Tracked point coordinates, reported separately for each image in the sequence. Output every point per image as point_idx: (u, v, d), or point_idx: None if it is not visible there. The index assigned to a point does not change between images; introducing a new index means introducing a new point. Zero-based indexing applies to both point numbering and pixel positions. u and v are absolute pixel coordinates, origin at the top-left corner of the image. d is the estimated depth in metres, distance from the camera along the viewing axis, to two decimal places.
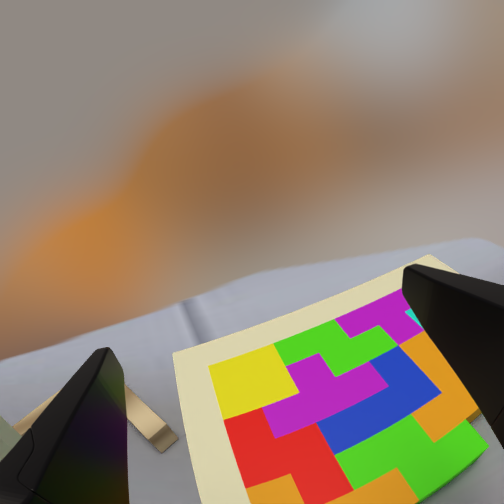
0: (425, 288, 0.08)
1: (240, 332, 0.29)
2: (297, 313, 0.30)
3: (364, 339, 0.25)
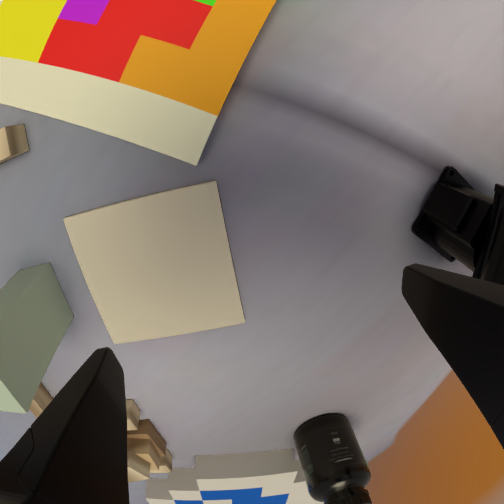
0: (425, 288, 0.08)
1: None
2: None
3: None
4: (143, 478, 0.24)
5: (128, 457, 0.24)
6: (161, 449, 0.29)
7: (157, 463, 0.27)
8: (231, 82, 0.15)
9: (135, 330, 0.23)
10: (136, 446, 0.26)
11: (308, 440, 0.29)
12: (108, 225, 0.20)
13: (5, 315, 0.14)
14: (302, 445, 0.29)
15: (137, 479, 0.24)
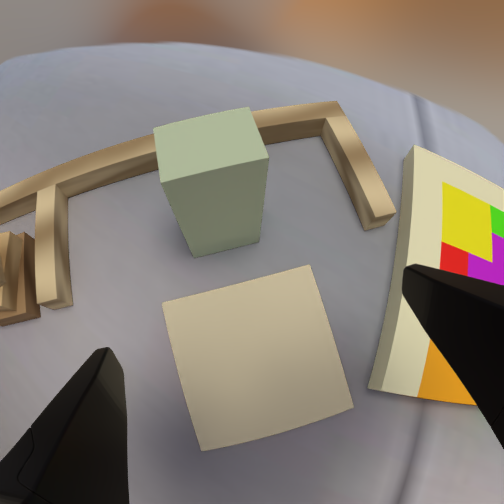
0: (425, 287, 0.08)
1: (471, 172, 0.24)
2: None
3: None
4: None
5: None
6: None
7: None
8: (439, 399, 0.18)
9: (183, 331, 0.21)
10: (9, 290, 0.19)
11: None
12: (307, 312, 0.22)
13: (264, 193, 0.17)
14: None
15: None
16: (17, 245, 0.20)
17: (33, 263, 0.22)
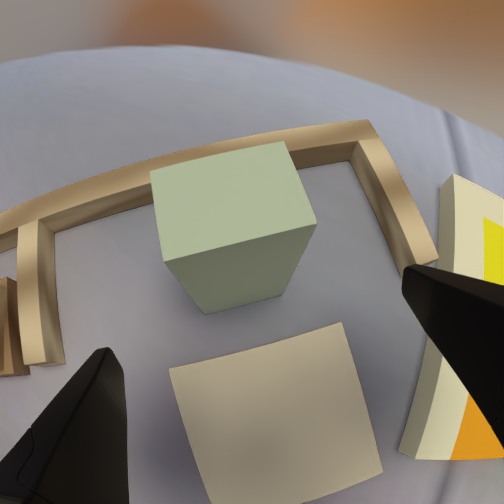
0: (425, 288, 0.08)
1: None
2: None
3: None
4: None
5: None
6: None
7: None
8: (470, 458, 0.13)
9: (194, 402, 0.17)
10: None
11: None
12: (337, 377, 0.18)
13: None
14: None
15: None
16: (0, 295, 0.16)
17: None
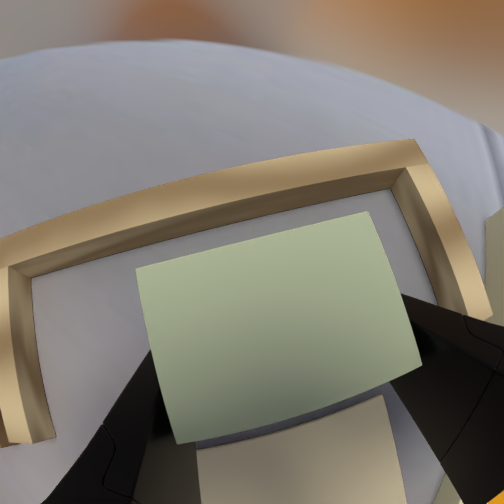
0: None
1: None
2: None
3: None
4: None
5: None
6: None
7: None
8: None
9: (211, 489, 0.12)
10: None
11: None
12: (375, 455, 0.13)
13: None
14: None
15: None
16: None
17: None
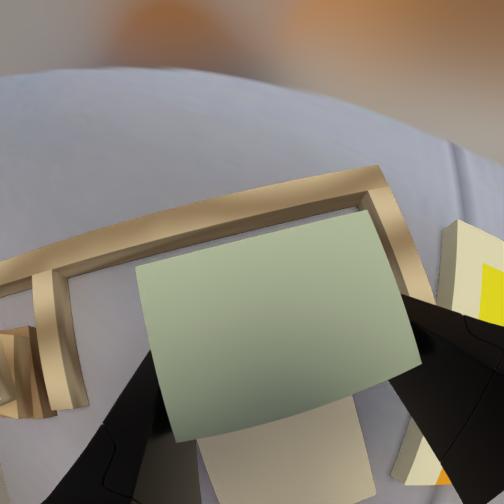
0: None
1: None
2: None
3: None
4: None
5: (11, 394, 0.14)
6: (11, 417, 0.16)
7: None
8: None
9: (212, 440, 0.18)
10: (23, 399, 0.16)
11: None
12: (339, 417, 0.19)
13: None
14: None
15: None
16: (24, 347, 0.17)
17: None
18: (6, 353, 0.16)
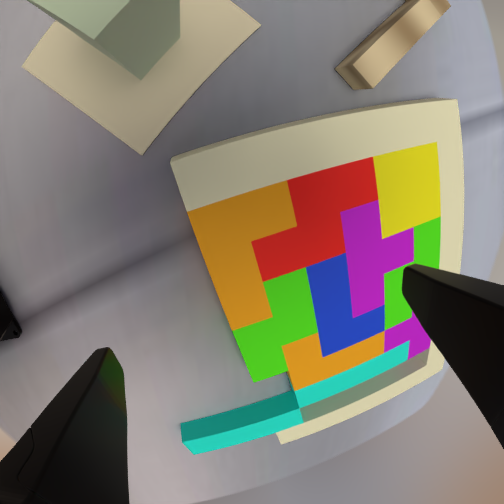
0: (425, 288, 0.08)
1: (462, 182, 0.21)
2: (459, 244, 0.23)
3: (405, 303, 0.24)
4: None
5: None
6: None
7: None
8: (199, 243, 0.18)
9: None
10: None
11: None
12: (209, 46, 0.16)
13: (116, 58, 0.09)
14: None
15: None
16: None
17: None
18: None
